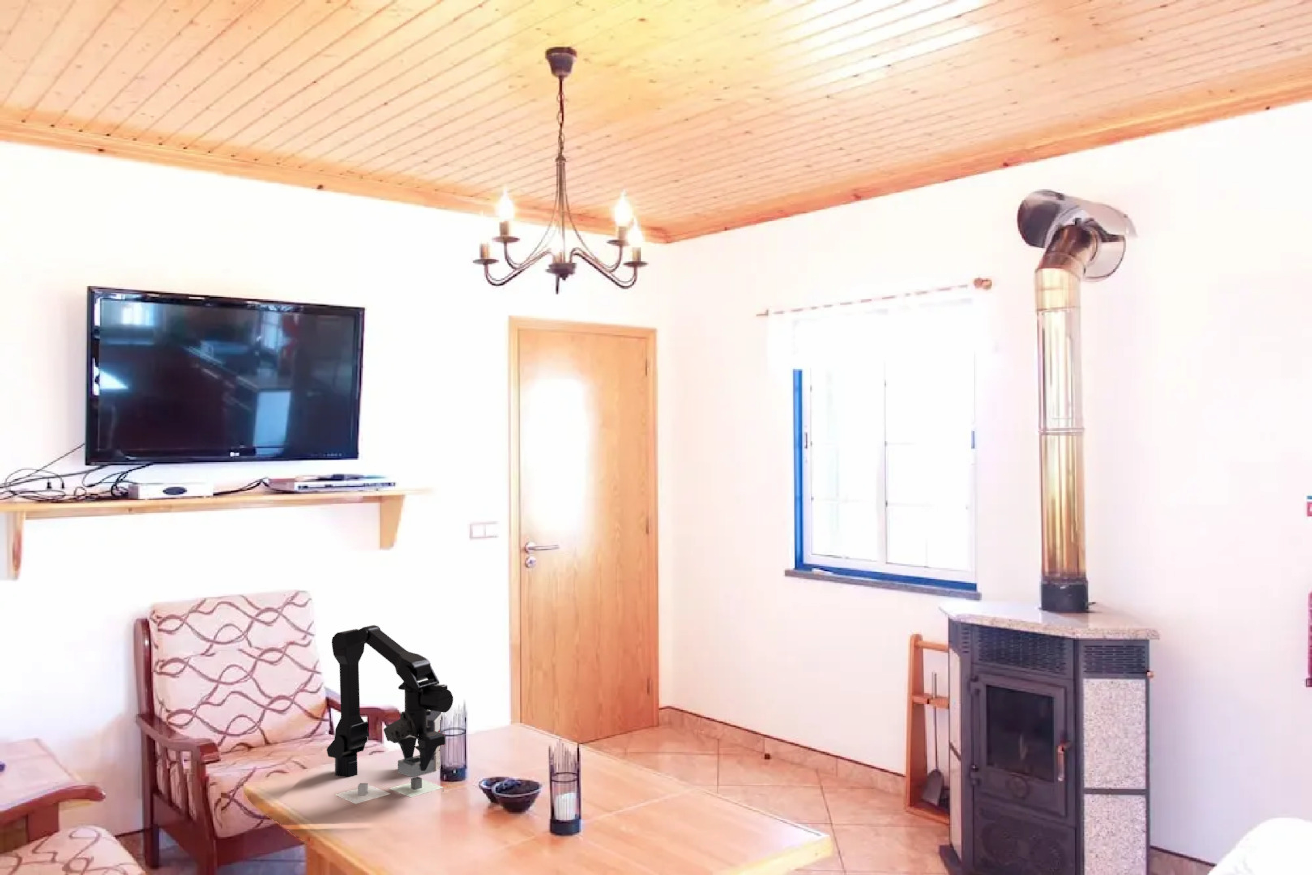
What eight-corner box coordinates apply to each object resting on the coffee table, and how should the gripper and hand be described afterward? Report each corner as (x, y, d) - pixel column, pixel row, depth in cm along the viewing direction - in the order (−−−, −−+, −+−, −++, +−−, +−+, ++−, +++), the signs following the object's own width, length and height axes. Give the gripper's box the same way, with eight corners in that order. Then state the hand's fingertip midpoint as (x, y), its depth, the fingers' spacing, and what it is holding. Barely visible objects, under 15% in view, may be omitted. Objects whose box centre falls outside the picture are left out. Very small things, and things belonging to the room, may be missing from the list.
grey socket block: (397, 772, 263) (397, 760, 263) (419, 766, 268) (419, 754, 268) (412, 777, 258) (412, 765, 258) (434, 771, 263) (433, 759, 263)
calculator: (436, 775, 277) (436, 720, 277) (420, 775, 277) (420, 720, 277) (445, 762, 288) (445, 709, 288) (430, 762, 288) (430, 709, 288)
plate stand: (334, 798, 258) (334, 784, 258) (369, 788, 265) (369, 775, 266) (355, 807, 251) (355, 793, 251) (390, 797, 259) (390, 783, 259)
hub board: (389, 792, 263) (389, 778, 263) (422, 782, 270) (422, 769, 270) (410, 801, 256) (410, 787, 256) (443, 791, 263) (443, 777, 263)
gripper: (369, 707, 264) (369, 767, 264) (409, 719, 251) (409, 783, 251) (406, 699, 272) (406, 757, 272) (446, 711, 259) (446, 772, 259)
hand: (416, 767), depth 263 cm, fingers closed on grey socket block, 7 cm apart
